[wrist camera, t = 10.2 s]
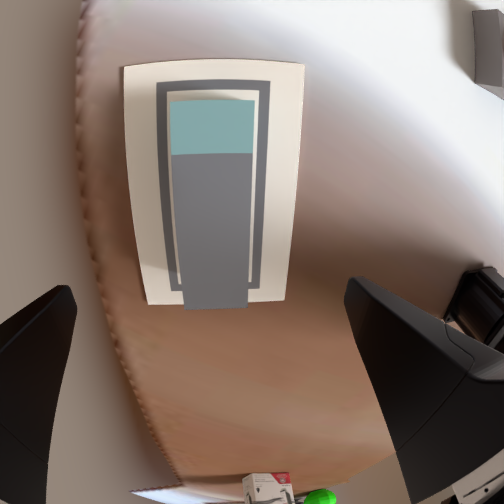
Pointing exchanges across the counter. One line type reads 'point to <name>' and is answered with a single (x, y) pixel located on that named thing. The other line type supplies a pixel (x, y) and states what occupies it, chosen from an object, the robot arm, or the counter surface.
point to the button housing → (489, 50)
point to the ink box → (268, 488)
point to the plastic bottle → (320, 497)
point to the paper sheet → (263, 169)
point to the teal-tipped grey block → (212, 199)
